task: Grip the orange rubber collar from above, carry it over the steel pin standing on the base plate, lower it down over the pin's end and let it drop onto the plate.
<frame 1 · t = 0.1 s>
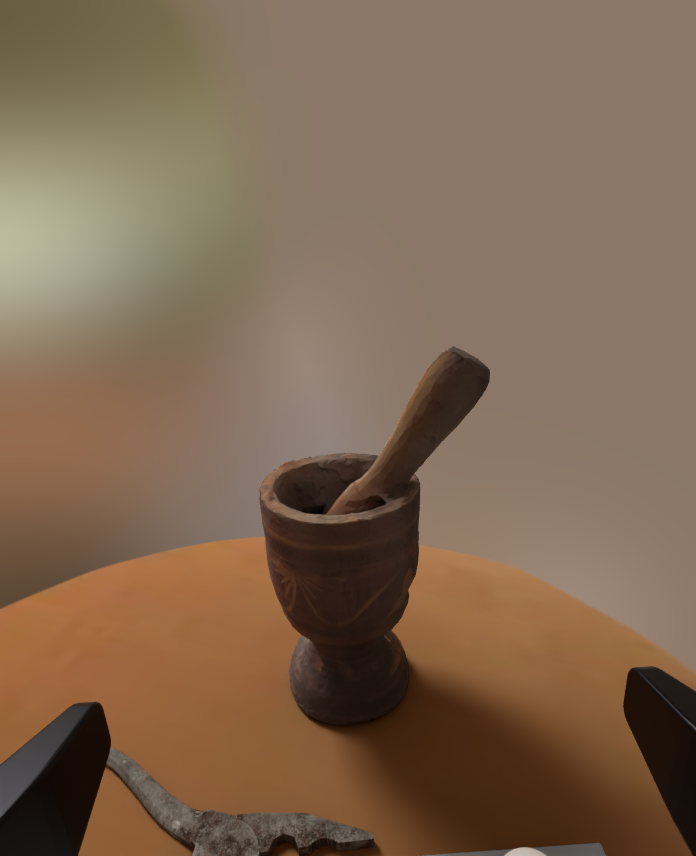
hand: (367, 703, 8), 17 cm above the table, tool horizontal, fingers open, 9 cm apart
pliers: (155, 831, 23), on the table
mortar and pestle: (376, 673, 30), on the table
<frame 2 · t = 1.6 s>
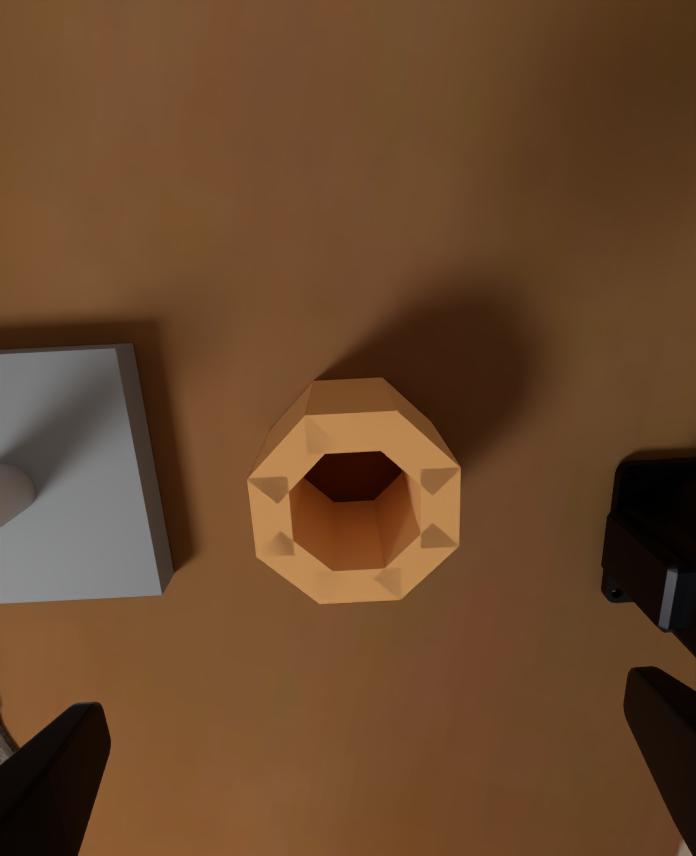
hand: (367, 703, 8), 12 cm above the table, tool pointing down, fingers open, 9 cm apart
collar: (351, 456, 20), on the table
pin base: (31, 473, 20), on the table
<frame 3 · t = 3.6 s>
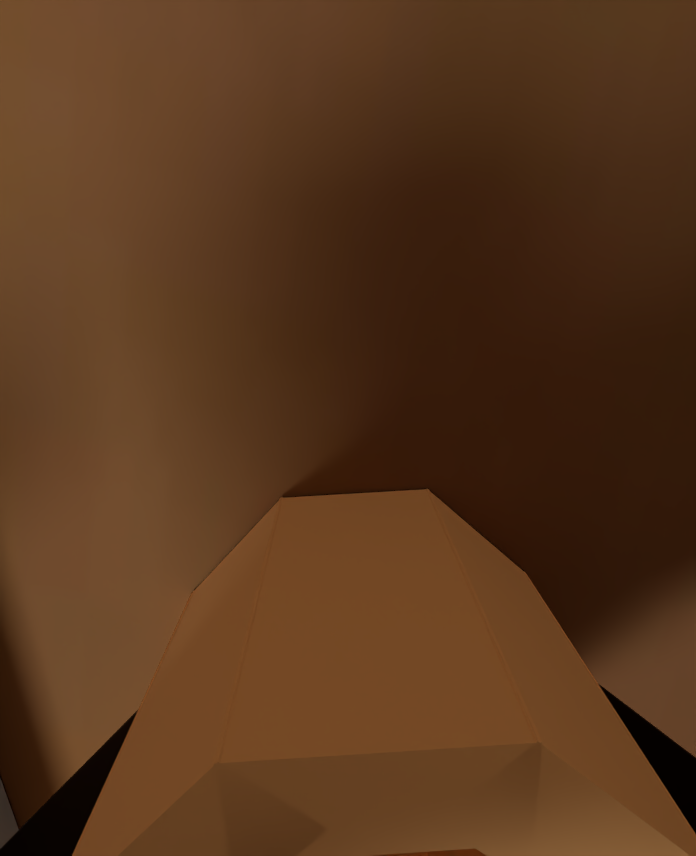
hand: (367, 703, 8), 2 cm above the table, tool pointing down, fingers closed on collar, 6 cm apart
collar: (362, 639, 10), on the table, touching gripper
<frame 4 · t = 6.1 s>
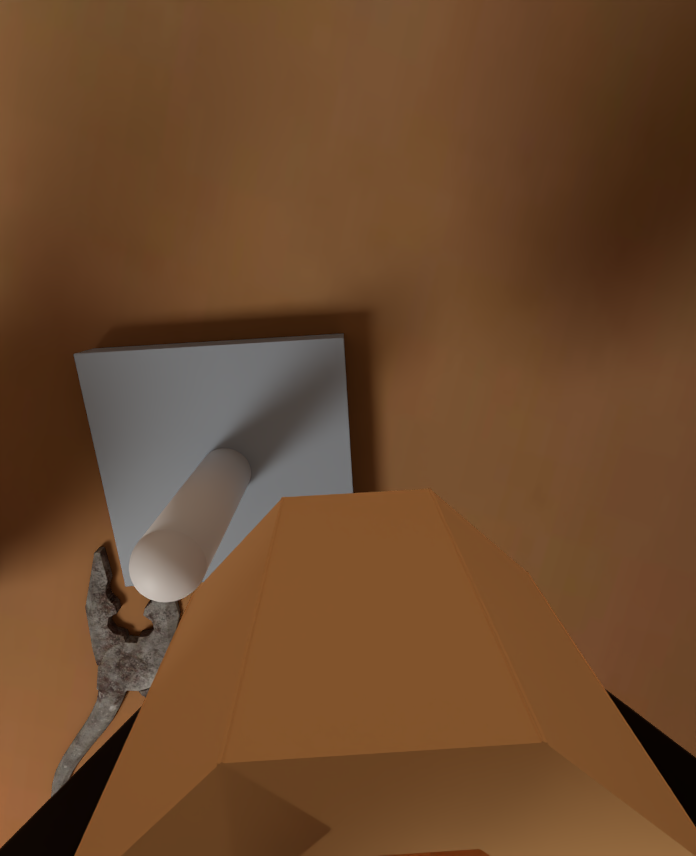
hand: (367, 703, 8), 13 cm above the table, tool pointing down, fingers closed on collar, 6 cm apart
collar: (363, 639, 10), point 11 cm above the table, touching gripper
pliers: (118, 711, 25), on the table
pin base: (234, 458, 21), on the table
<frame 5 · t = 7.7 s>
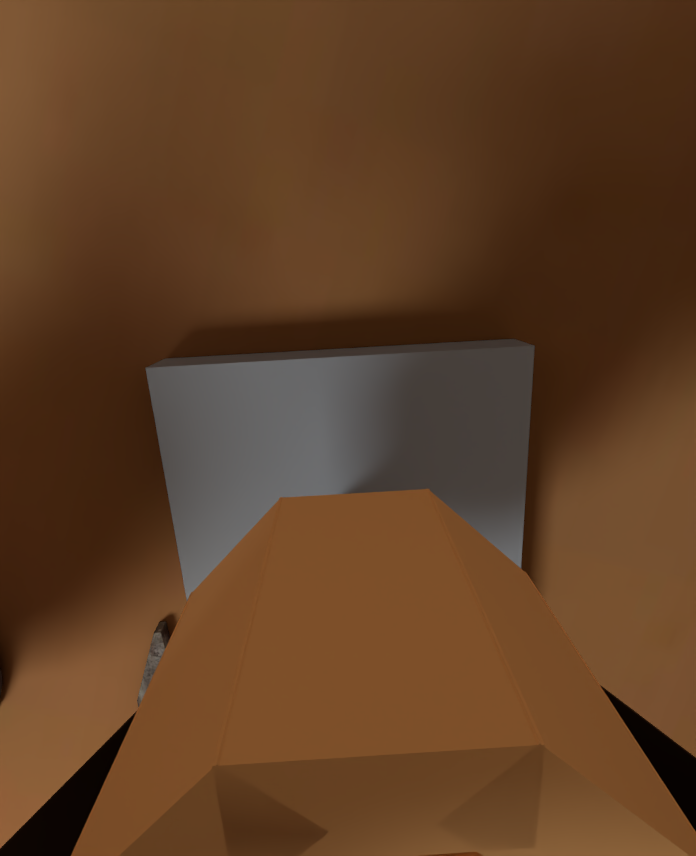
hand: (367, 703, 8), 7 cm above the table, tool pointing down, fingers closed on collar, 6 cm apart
collar: (362, 640, 10), point 6 cm above the table, touching gripper
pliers: (170, 818, 20), on the table
pin base: (349, 506, 15), on the table
when the fingers open (5 cm above the table, at t = 9.1 s): collar drops 3 cm, resting on pin base.
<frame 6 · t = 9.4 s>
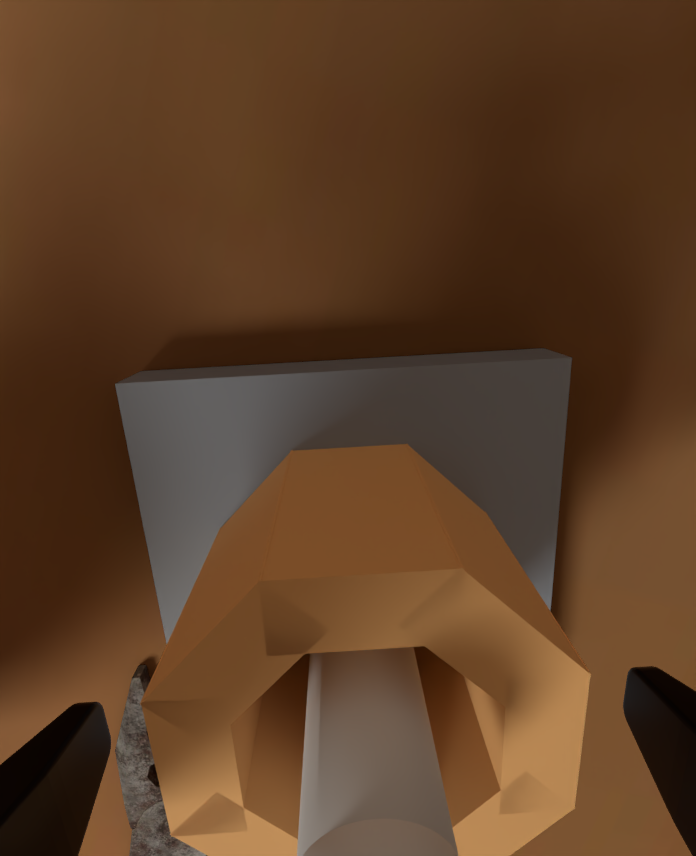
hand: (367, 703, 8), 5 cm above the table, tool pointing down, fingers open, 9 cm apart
collar: (355, 568, 12), point 1 cm above the table, touching pin base
pin base: (353, 538, 13), on the table
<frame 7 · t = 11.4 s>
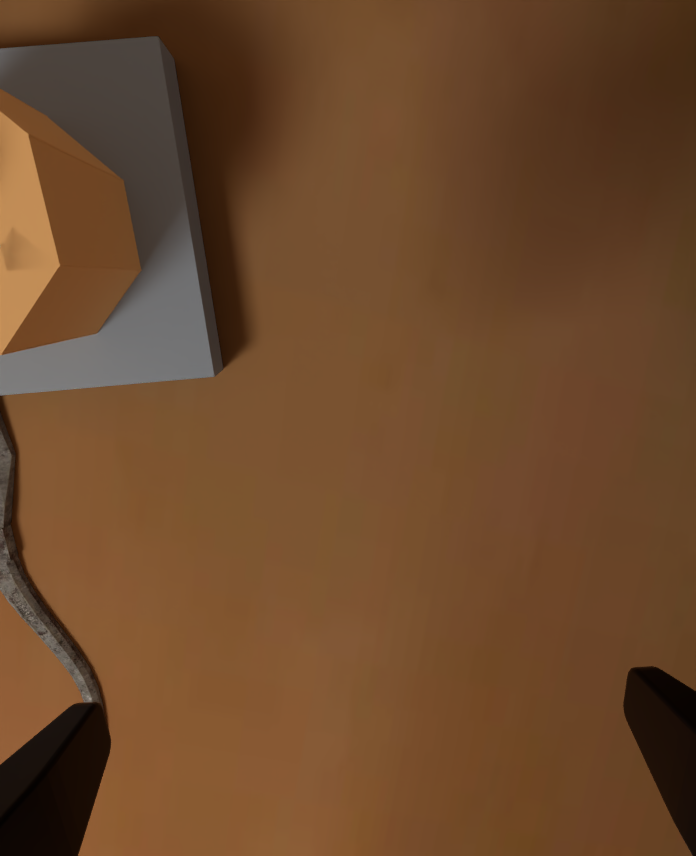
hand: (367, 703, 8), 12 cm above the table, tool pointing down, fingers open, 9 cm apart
collar: (31, 234, 15), point 1 cm above the table, touching pin base
pin base: (57, 239, 17), on the table
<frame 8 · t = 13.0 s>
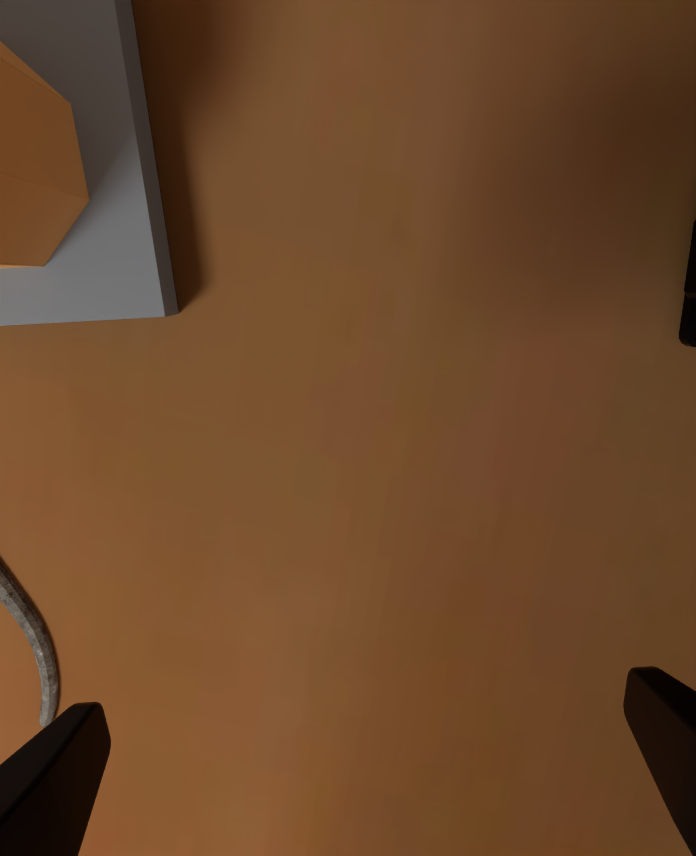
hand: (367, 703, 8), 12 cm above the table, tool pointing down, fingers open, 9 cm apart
pin base: (7, 170, 16), on the table
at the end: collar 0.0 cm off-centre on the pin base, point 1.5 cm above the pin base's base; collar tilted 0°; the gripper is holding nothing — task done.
